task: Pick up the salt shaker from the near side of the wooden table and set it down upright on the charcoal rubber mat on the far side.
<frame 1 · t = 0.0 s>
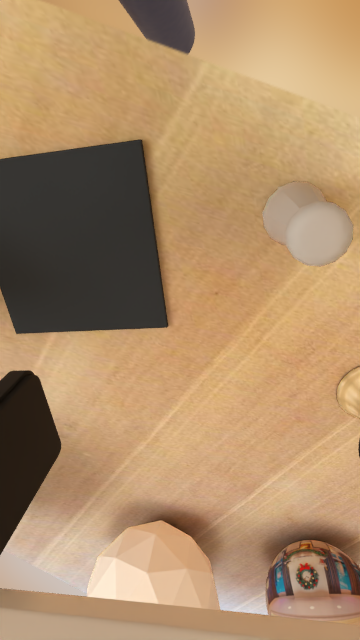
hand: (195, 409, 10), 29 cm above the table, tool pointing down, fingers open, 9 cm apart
ball: (163, 534, 59), on the table
salt shaker: (290, 210, 34), on the table
mat: (71, 250, 39), on the table
ornament: (309, 547, 55), on the table
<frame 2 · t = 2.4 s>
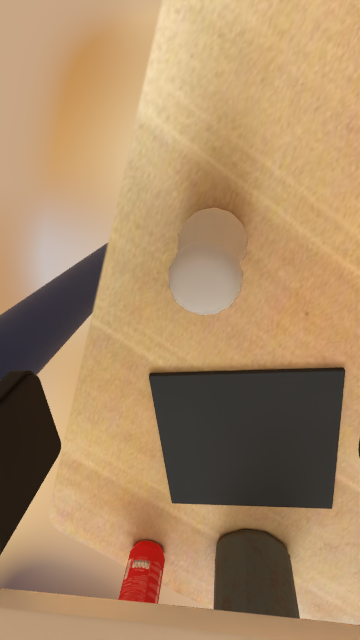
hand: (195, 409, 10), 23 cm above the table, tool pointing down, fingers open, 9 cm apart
salt shaker: (213, 237, 31), on the table
bottle: (251, 549, 48), on the table
mat: (245, 442, 40), on the table
beverage can: (149, 548, 51), on the table
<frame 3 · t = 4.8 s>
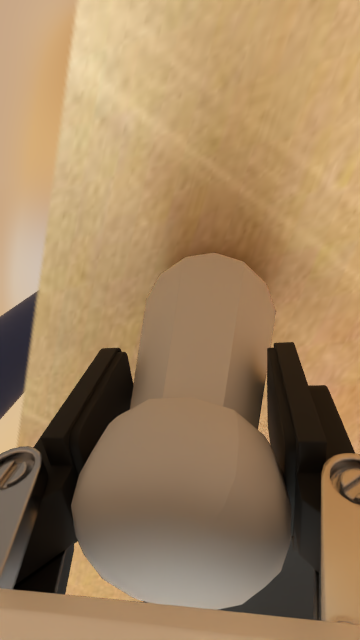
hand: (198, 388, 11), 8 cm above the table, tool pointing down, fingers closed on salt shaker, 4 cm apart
salt shaker: (211, 296, 18), on the table, touching gripper
mat: (259, 577, 27), on the table
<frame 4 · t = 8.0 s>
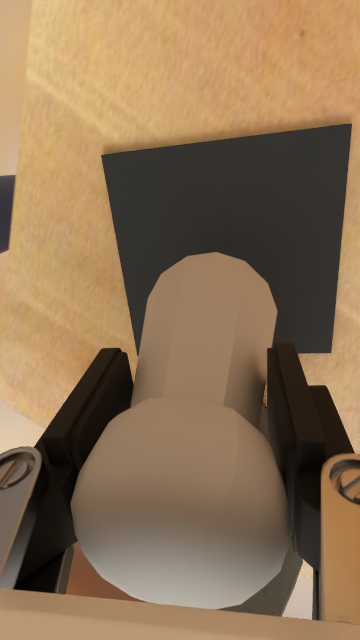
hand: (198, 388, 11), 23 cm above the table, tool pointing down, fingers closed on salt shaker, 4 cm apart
salt shaker: (213, 296, 18), point 15 cm above the table, touching gripper
bottle: (233, 424, 40), on the table
mat: (225, 259, 32), on the table
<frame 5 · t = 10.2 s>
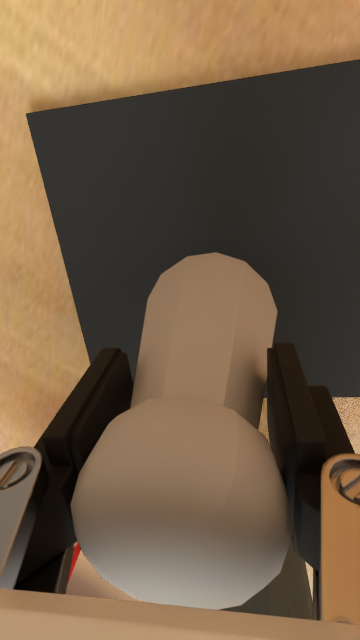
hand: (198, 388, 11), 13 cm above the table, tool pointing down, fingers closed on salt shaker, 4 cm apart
salt shaker: (213, 296, 18), point 5 cm above the table, touching gripper
bottle: (230, 482, 31), on the table
mat: (215, 268, 22), on the table
when the fingers open (8 cm above the table, at t = 11.7 s): salt shaker stays where it is, resting on mat.
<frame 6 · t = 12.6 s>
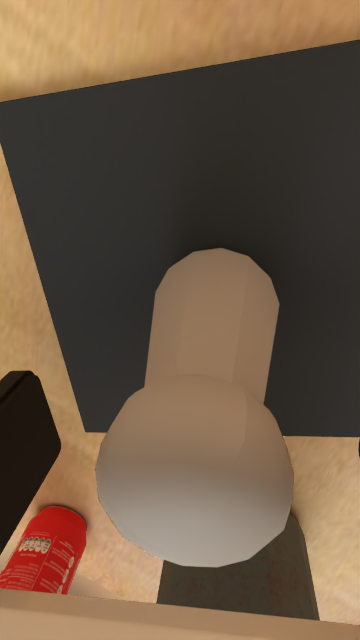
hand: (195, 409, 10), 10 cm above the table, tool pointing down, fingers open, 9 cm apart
salt shaker: (217, 290, 18), resting on mat
bottle: (234, 523, 27), on the table
mat: (217, 288, 19), on the table
beverage can: (64, 520, 30), on the table
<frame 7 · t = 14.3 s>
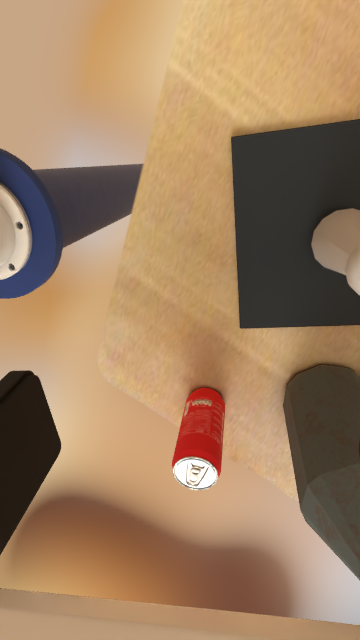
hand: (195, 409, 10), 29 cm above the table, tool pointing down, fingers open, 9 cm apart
salt shaker: (337, 235, 34), resting on mat
bottle: (324, 394, 43), on the table
mat: (336, 234, 34), on the table
beverage can: (206, 399, 46), on the table
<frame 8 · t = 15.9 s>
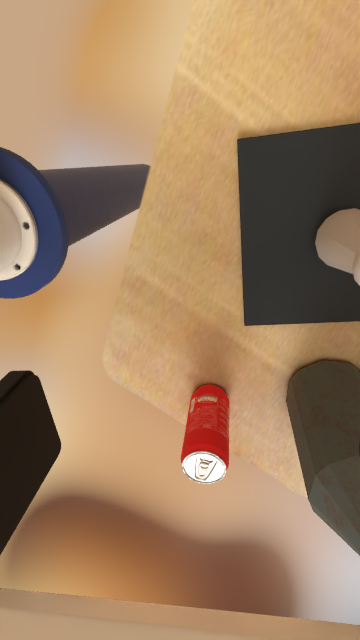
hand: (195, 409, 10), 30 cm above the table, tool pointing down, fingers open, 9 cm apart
salt shaker: (339, 234, 35), resting on mat
bottle: (325, 389, 44), on the table
mat: (338, 233, 36), on the table
beverage can: (210, 396, 47), on the table
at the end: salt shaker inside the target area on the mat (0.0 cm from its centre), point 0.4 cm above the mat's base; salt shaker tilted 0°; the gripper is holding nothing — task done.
